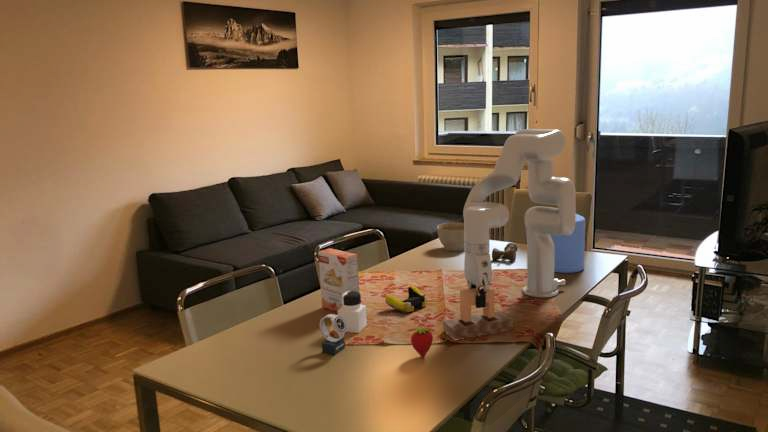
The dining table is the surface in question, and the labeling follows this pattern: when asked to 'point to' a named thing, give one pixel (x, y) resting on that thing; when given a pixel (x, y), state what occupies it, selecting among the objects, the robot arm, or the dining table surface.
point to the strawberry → (422, 340)
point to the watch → (332, 342)
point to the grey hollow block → (478, 325)
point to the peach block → (470, 299)
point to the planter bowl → (451, 236)
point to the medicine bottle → (353, 312)
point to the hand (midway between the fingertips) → (477, 304)
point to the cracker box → (337, 276)
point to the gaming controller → (408, 301)
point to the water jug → (570, 249)
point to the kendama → (505, 253)
